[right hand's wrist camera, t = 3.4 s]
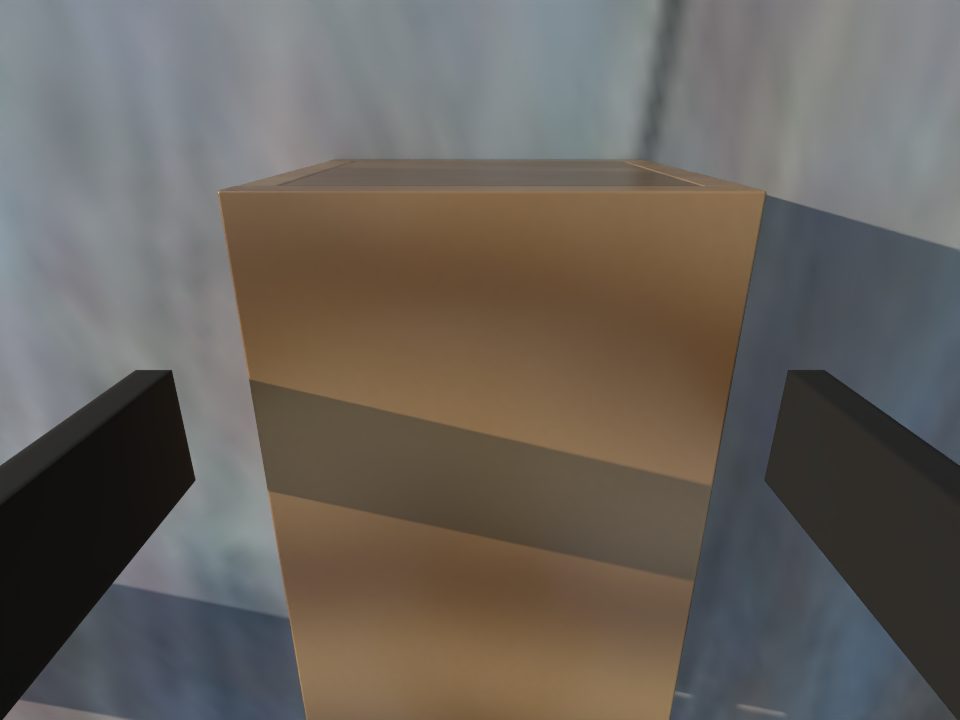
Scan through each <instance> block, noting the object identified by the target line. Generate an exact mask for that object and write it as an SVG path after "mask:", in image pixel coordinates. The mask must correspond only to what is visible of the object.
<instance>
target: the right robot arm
mask: <svg viewBox="0 0 960 720" xmlns="http://www.w3.org/2000/svg"><path fill="white" fill-rule="evenodd" d="M194 482H195V476H194V471H193V466H192V462H191V457H190V452H189V448H188V443H187V438H186V434H185V429H184V425H183V420H182V415H181V411H180V406H179V401H178V397H177V392H176V388H175V383H174V378H173V374H172V370H135V371H134V372H132V373H131V374H130V375H128V376H127V377H125V378H124V379H123V380H121V381H120V382H118V383H117V384H115V385H114V386H113V387H111V388H110V389H108V390H107V391H106V392H104V393H103V394H101V395H100V396H98V397H97V398H96V399H94V400H93V401H91V402H90V403H89V404H87V405H86V406H84V407H83V408H81V409H80V410H79V411H77V412H76V413H74V414H73V415H72V416H70V417H69V418H67V419H66V420H64V421H63V422H62V423H60V424H59V425H57V426H56V427H55V428H53V429H52V430H50V431H49V432H47V433H46V434H45V435H43V436H42V437H40V438H39V439H38V440H36V441H35V442H33V443H32V444H30V445H29V446H28V447H26V448H25V449H23V450H22V451H21V452H19V453H18V454H16V455H15V456H13V457H12V458H11V459H9V460H8V461H6V462H5V463H4V464H2V465H1V466H0V720H3V719H4V717H5V716H6V715H7V714H8V712H9V711H10V710H11V709H12V707H13V706H14V705H15V704H16V702H17V701H18V700H19V699H20V697H21V696H22V695H23V694H24V693H25V691H26V690H27V689H28V688H29V686H30V685H31V684H32V683H33V681H34V680H35V679H36V678H37V676H38V675H39V674H40V673H41V671H42V670H43V669H44V668H45V666H46V665H47V664H48V663H49V661H50V660H51V659H52V658H53V657H54V655H55V654H56V653H57V652H58V650H59V649H60V648H61V647H62V645H63V644H64V643H65V642H66V640H67V639H68V638H69V637H70V635H71V634H72V633H73V632H74V630H75V629H76V628H77V627H78V625H79V624H80V623H81V622H82V621H83V619H84V618H85V617H86V616H87V614H88V613H89V612H90V611H91V609H92V608H93V607H94V606H95V604H96V603H97V602H98V601H99V599H100V598H101V597H102V596H103V594H104V593H105V592H106V591H107V589H108V588H109V587H110V586H111V585H112V583H113V582H114V581H115V580H116V578H117V577H118V576H119V575H120V573H121V572H122V571H123V570H124V568H125V567H126V566H127V565H128V563H129V562H130V561H131V560H132V558H133V557H134V556H135V555H136V554H137V552H138V551H139V550H140V549H141V547H142V546H143V545H144V544H145V542H146V541H147V540H148V539H149V537H150V536H151V535H152V534H153V532H154V531H155V530H156V529H157V527H158V526H159V525H160V524H161V522H162V521H163V520H164V519H165V518H166V516H167V515H168V514H169V513H170V511H171V510H172V509H173V508H174V506H175V505H176V504H177V503H178V501H179V500H180V499H181V498H182V496H183V495H184V494H185V493H186V491H187V490H188V489H189V488H190V486H191V485H192V484H193V483H194ZM765 482H766V483H767V484H768V485H769V486H770V488H771V489H772V490H773V491H774V493H775V494H776V495H777V496H778V498H779V499H780V500H781V501H782V503H783V504H784V505H785V506H786V508H787V509H788V510H789V511H790V513H791V514H792V515H793V516H794V518H795V519H796V520H797V521H798V522H799V524H800V525H801V526H802V527H803V529H804V530H805V531H806V532H807V534H808V535H809V536H810V537H811V539H812V540H813V541H814V542H815V544H816V545H817V546H818V547H819V549H820V550H821V551H822V552H823V554H824V555H825V556H826V557H827V558H828V560H829V561H830V562H831V563H832V565H833V566H834V567H835V568H836V570H837V571H838V572H839V573H840V575H841V576H842V577H843V578H844V580H845V581H846V582H847V583H848V585H849V586H850V587H851V588H852V589H853V591H854V592H855V593H856V594H857V596H858V597H859V598H860V599H861V601H862V602H863V603H864V604H865V606H866V607H867V608H868V609H869V611H870V612H871V613H872V614H873V616H874V617H875V618H876V619H877V621H878V622H879V623H880V624H881V625H882V627H883V628H884V629H885V630H886V632H887V633H888V634H889V635H890V637H891V638H892V639H893V640H894V642H895V643H896V644H897V645H898V647H899V648H900V649H901V650H902V652H903V653H904V654H905V655H906V657H907V658H908V659H909V660H910V661H911V663H912V664H913V665H914V666H915V668H916V669H917V670H918V671H919V673H920V674H921V675H922V676H923V678H924V679H925V680H926V681H927V683H928V684H929V685H930V686H931V688H932V689H933V690H934V691H935V693H936V694H937V695H938V696H939V697H940V699H941V700H942V701H943V702H944V704H945V705H946V706H947V707H948V709H949V710H950V711H951V712H952V714H953V715H954V716H955V717H956V719H957V720H960V466H959V465H958V464H956V463H955V462H954V461H952V460H951V459H949V458H948V457H947V456H945V455H944V454H942V453H941V452H939V451H938V450H937V449H935V448H934V447H932V446H931V445H930V444H928V443H927V442H925V441H924V440H922V439H921V438H920V437H918V436H917V435H915V434H914V433H913V432H911V431H910V430H908V429H907V428H905V427H904V426H903V425H901V424H900V423H898V422H897V421H896V420H894V419H893V418H891V417H890V416H888V415H887V414H886V413H884V412H883V411H881V410H880V409H879V408H877V407H876V406H874V405H873V404H871V403H870V402H869V401H867V400H866V399H864V398H863V397H862V396H860V395H859V394H857V393H856V392H854V391H853V390H852V389H850V388H849V387H847V386H846V385H845V384H843V383H842V382H840V381H839V380H837V379H836V378H835V377H833V376H832V375H830V374H829V373H828V372H826V371H825V370H788V374H787V378H786V383H785V388H784V392H783V397H782V401H781V406H780V411H779V415H778V420H777V425H776V429H775V434H774V438H773V443H772V448H771V452H770V457H769V462H768V466H767V471H766V476H765Z"/></svg>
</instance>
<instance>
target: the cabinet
mask: <svg viewBox="0 0 960 720" xmlns="http://www.w3.org/2000/svg"><path fill="white" fill-rule="evenodd" d="M218 197H219V203H220V209H221V215H222V221H223V227H224V233H225V239H226V245H227V250H228V256H229V262H230V268H231V274H232V280H233V286H234V292H235V298H236V304H237V310H238V316H239V322H240V328H241V334H242V340H243V346H244V351H245V357H246V363H247V369H248V375H249V381H250V387H251V393H252V399H253V405H254V411H255V417H256V423H257V429H258V435H259V441H260V446H261V452H262V458H263V464H264V470H265V476H266V482H267V488H268V494H269V500H270V506H271V512H272V518H273V524H274V530H275V536H276V541H277V547H278V553H279V559H280V565H281V571H282V577H283V583H284V589H285V595H286V601H287V607H288V613H289V619H290V625H291V631H292V637H293V642H294V648H295V654H296V660H297V666H298V672H299V678H300V684H301V690H302V696H303V702H304V708H305V714H306V720H670V715H671V709H672V704H673V699H674V693H675V688H676V682H677V677H678V671H679V666H680V661H681V655H682V650H683V644H684V639H685V633H686V628H687V622H688V617H689V612H690V606H691V601H692V595H693V590H694V584H695V579H696V574H697V568H698V563H699V557H700V552H701V546H702V541H703V535H704V530H705V525H706V519H707V514H708V508H709V503H710V497H711V492H712V487H713V481H714V476H715V470H716V465H717V459H718V454H719V448H720V443H721V438H722V432H723V427H724V421H725V416H726V410H727V405H728V400H729V394H730V389H731V383H732V378H733V372H734V367H735V361H736V356H737V351H738V345H739V340H740V334H741V329H742V323H743V318H744V313H745V307H746V302H747V296H748V291H749V285H750V280H751V274H752V269H753V264H754V258H755V253H756V247H757V242H758V236H759V231H760V226H761V220H762V215H763V209H764V204H765V198H766V191H764V190H760V189H756V188H752V187H748V186H744V185H740V184H737V183H733V182H729V181H725V180H721V179H717V178H713V177H709V176H705V175H701V174H697V173H694V172H690V171H686V170H682V169H678V168H674V167H670V166H666V165H662V164H658V163H655V162H651V161H646V160H331V161H328V162H324V163H321V164H317V165H313V166H310V167H306V168H302V169H299V170H295V171H291V172H287V173H284V174H280V175H276V176H273V177H269V178H265V179H262V180H258V181H254V182H251V183H247V184H243V185H240V186H234V187H230V188H226V189H223V190H220V191H218Z"/></svg>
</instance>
